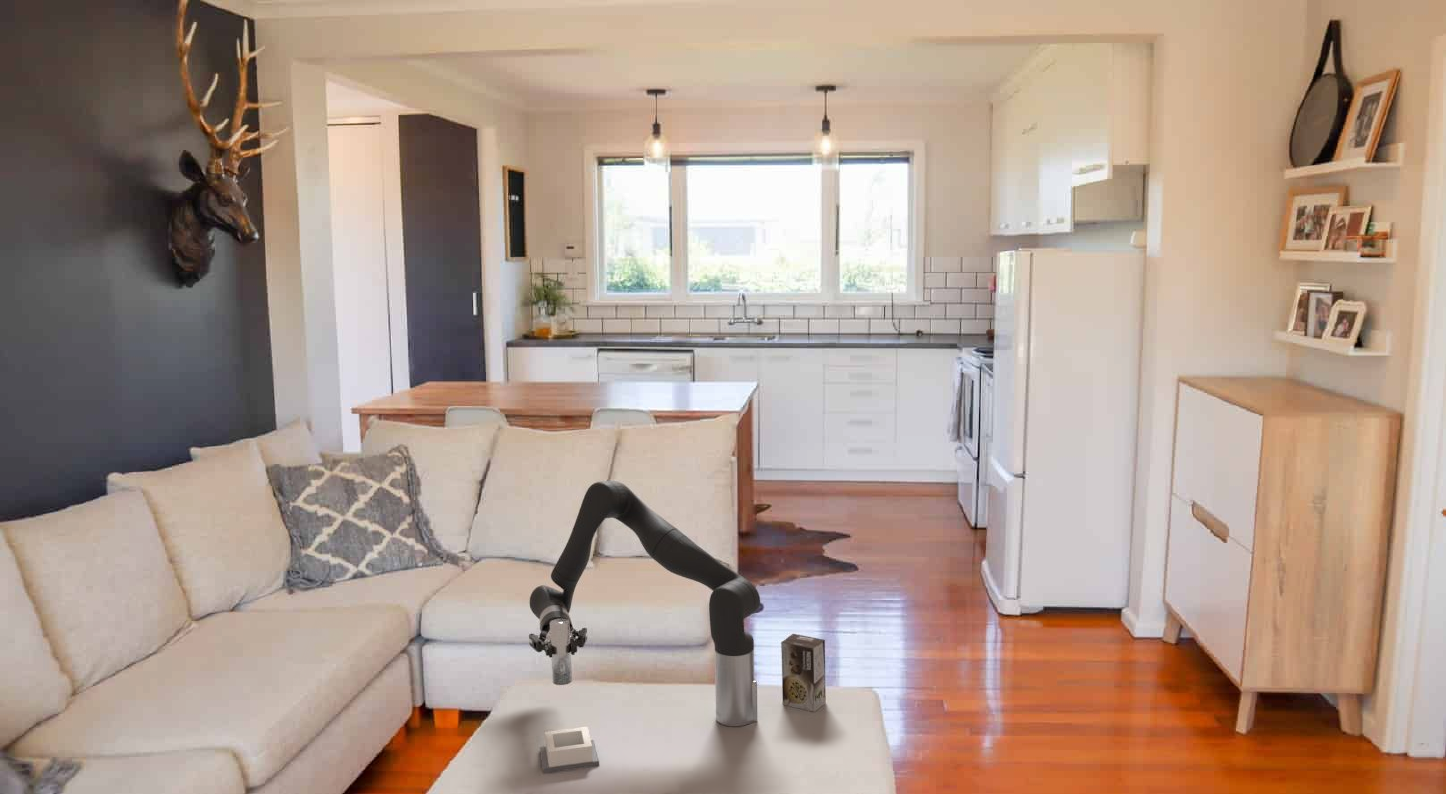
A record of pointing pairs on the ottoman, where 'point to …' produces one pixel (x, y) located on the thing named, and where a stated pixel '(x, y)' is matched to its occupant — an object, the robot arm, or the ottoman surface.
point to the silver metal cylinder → (561, 651)
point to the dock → (568, 750)
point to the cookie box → (803, 672)
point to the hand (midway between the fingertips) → (561, 651)
